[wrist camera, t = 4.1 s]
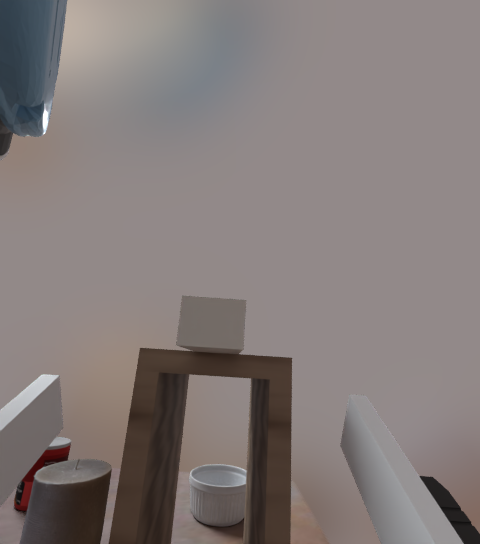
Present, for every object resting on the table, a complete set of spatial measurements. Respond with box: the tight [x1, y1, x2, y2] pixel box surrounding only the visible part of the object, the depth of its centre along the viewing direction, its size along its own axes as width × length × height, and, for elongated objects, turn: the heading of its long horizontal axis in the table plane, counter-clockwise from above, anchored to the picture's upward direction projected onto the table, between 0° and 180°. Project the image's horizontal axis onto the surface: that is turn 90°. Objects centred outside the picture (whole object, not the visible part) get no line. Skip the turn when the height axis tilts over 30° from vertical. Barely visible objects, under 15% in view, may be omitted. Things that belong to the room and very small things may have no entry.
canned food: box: [14, 437, 71, 511], centre depth 60 cm, size 8×8×11 cm
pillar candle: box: [20, 459, 112, 544], centre depth 39 cm, size 10×10×15 cm
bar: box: [176, 296, 246, 354], centre depth 31 cm, size 28×4×3 cm, turn 2°
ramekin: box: [189, 464, 247, 527], centre depth 60 cm, size 13×13×7 cm
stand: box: [109, 348, 292, 544], centre depth 33 cm, size 22×14×30 cm, turn 2°
